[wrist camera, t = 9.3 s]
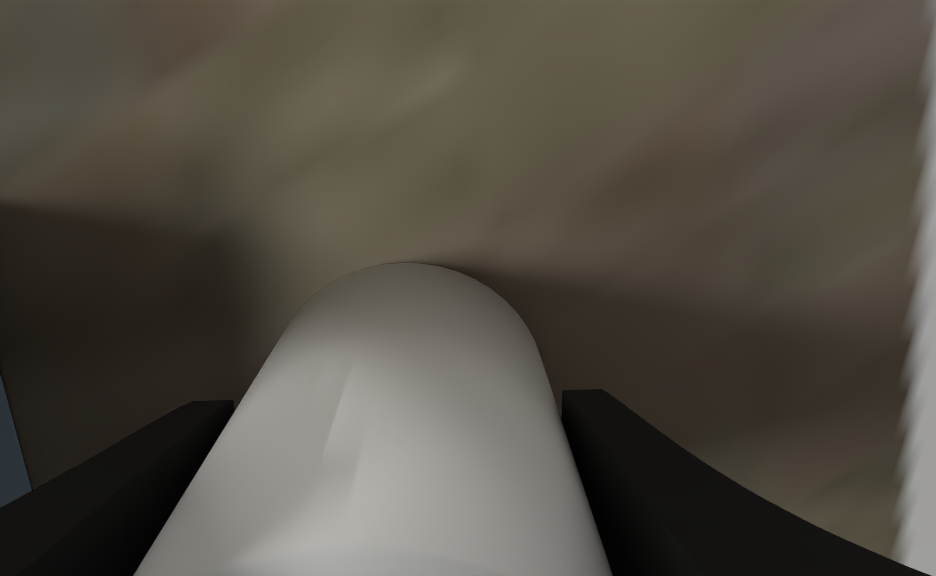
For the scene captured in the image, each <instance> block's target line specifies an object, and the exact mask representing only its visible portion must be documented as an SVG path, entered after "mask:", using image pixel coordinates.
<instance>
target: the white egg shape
mask: <svg viewBox="0 0 936 576" xmlns="http://www.w3.org/2000/svg"><path fill="white" fill-rule="evenodd" d="M133 576H613V575H612V572H611V569H610V566H609V563H608V560H607V557H606V553H605V550H604V547H603V544H602V541H601V538H600V535H599V532H598V529H597V526H596V523H595V520H594V517H593V514H592V511H591V508H590V505H589V502H588V499H587V496H586V493H585V490H584V487H583V484H582V481H581V478H580V475H579V472H578V469H577V466H576V463H575V460H574V457H573V453H572V450H571V447H570V444H569V441H568V438H567V435H566V432H565V429H564V426H563V423H562V420H561V417H560V414H559V411H558V408H557V405H556V402H555V399H554V396H553V393H552V390H551V387H550V384H549V381H548V378H547V375H546V372H545V369H544V366H543V363H542V360H541V357H540V354H539V351H538V348H537V345H536V342H535V340H534V338H533V336H532V335H531V333H530V331H529V329H528V327H527V326H526V324H525V323H524V321H523V320H522V319H521V317H520V316H519V314H518V313H517V312H516V311H515V310H514V309H513V308H512V307H511V306H510V305H509V304H508V302H507V301H506V300H504V299H503V298H502V297H501V296H499V295H498V294H497V293H496V292H495V291H493V290H492V289H491V288H489V287H487V286H486V285H484V284H482V283H481V282H479V281H477V280H476V279H474V278H471V277H469V276H467V275H465V274H462V273H460V272H457V271H454V270H451V269H447V268H444V267H441V266H434V265H428V264H422V263H393V264H383V265H378V266H373V267H369V268H364V269H362V270H359V271H356V272H353V273H350V274H348V275H346V276H344V277H342V278H340V279H338V280H336V281H334V282H332V283H330V284H329V285H327V286H326V287H324V288H323V289H321V290H320V291H319V292H317V293H316V294H315V295H314V296H313V297H311V298H310V299H309V300H308V301H307V302H306V303H305V304H304V305H303V306H302V307H301V308H300V310H299V311H298V312H297V313H296V314H295V316H294V317H293V318H292V319H291V321H290V323H289V324H288V326H287V328H286V329H285V331H284V332H283V334H282V336H281V337H280V339H279V340H278V342H277V344H276V345H275V347H274V349H273V350H272V352H271V353H270V355H269V357H268V358H267V360H266V362H265V363H264V365H263V366H262V368H261V370H260V371H259V373H258V375H257V376H256V378H255V379H254V381H253V383H252V384H251V386H250V387H249V389H248V391H247V392H246V394H245V396H244V397H243V399H242V400H241V402H240V404H239V405H238V407H237V409H236V410H235V412H234V413H233V415H232V417H231V418H230V420H229V421H228V423H227V425H226V426H225V428H224V430H223V431H222V433H221V434H220V436H219V438H218V439H217V441H216V443H215V444H214V446H213V447H212V449H211V451H210V452H209V454H208V455H207V457H206V459H205V460H204V462H203V464H202V465H201V467H200V468H199V470H198V472H197V473H196V475H195V477H194V478H193V480H192V481H191V483H190V485H189V486H188V488H187V489H186V491H185V493H184V494H183V496H182V498H181V499H180V501H179V502H178V504H177V506H176V507H175V509H174V511H173V512H172V514H171V515H170V517H169V519H168V520H167V522H166V523H165V525H164V527H163V528H162V530H161V532H160V533H159V535H158V536H157V538H156V540H155V541H154V543H153V545H152V546H151V548H150V549H149V551H148V553H147V554H146V556H145V558H144V559H143V561H142V562H141V564H140V566H139V567H138V569H137V570H136V572H135V574H134V575H133Z"/></svg>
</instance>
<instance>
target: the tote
mask: <svg viewBox="0 0 936 576" xmlns="http://www.w3.org/2000/svg"><path fill="white" fill-rule="evenodd" d="M30 491H32V489H31V485H30V482H29V478H28V474H27V471H26V467H25V463H24V460H23V456H22V452H21V448H20V445H19V441H18V437H17V434H16V430H15V426H14V423H13V419H12V415H11V412H10V408H9V404H8V400H7V397H6V393H5V389H4V386H3V382H2V378H1V375H0V507H2V506H4V505H6V504H8V503H10V502H12V501H13V500H15V499H17V498H19V497H21V496H23V495H24V494H26V493H28V492H30Z"/></svg>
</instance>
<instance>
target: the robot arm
mask: <svg viewBox="0 0 936 576" xmlns="http://www.w3.org/2000/svg"><path fill="white" fill-rule="evenodd" d="M234 412H235V409H234V402H233V400H217V401H193V402H190V403H188V404H186V405H183V406H181V407H179V408H177V409H175V410H173V411H171V412H170V413H168V414H166V415H164V416H162V417H160V418H159V419H157V420H155V421H153V422H152V423H150V424H148V425H146V426H145V427H143V428H141V429H140V430H138V431H136V432H135V433H133V434H131V435H129V436H128V437H126V438H124V439H123V440H121V441H119V442H117V443H116V444H114V445H112V446H111V447H109V448H107V449H105V450H104V451H102V452H100V453H99V454H97V455H95V456H93V457H92V458H90V459H88V460H87V461H85V462H83V463H81V464H80V465H78V466H76V467H74V468H72V469H71V470H69V471H67V472H65V473H63V474H61V475H60V476H58V477H56V478H54V479H52V480H50V481H48V482H47V483H45V484H43V485H41V486H39V487H37V488H36V489H34V490H32V491H30V492H28V493H26V494H24V495H23V496H21V497H19V498H17V499H15V500H13V501H12V502H10V503H8V504H6V505H4V506H2V507H0V576H133V575H134V574H135V572H136V570H137V569H138V567H139V566H140V564H141V562H142V561H143V559H144V558H145V556H146V554H147V553H148V551H149V549H150V548H151V546H152V545H153V543H154V541H155V540H156V538H157V536H158V535H159V533H160V532H161V530H162V528H163V527H164V525H165V523H166V522H167V520H168V519H169V517H170V515H171V514H172V512H173V511H174V509H175V507H176V506H177V504H178V502H179V501H180V499H181V498H182V496H183V494H184V493H185V491H186V489H187V488H188V486H189V485H190V483H191V481H192V480H193V478H194V477H195V475H196V473H197V472H198V470H199V468H200V467H201V465H202V464H203V462H204V460H205V459H206V457H207V455H208V454H209V452H210V451H211V449H212V447H213V446H214V444H215V443H216V441H217V439H218V438H219V436H220V434H221V433H222V431H223V430H224V428H225V426H226V425H227V423H228V421H229V420H230V418H231V417H232V415H233V413H234ZM562 423H563V426H564V429H565V432H566V435H567V438H568V441H569V444H570V447H571V450H572V453H573V457H574V460H575V463H576V466H577V469H578V472H579V475H580V478H581V481H582V484H583V487H584V490H585V493H586V496H587V499H588V502H589V505H590V508H591V511H592V514H593V517H594V520H595V523H596V526H597V529H598V532H599V535H600V538H601V541H602V544H603V547H604V550H605V553H606V557H607V560H608V563H609V566H610V569H611V572H612V575H613V576H930V575H928V574H925V573H923V572H920V571H918V570H915V569H913V568H910V567H908V566H905V565H903V564H900V563H898V562H896V561H893V560H891V559H889V558H886V557H884V556H882V555H879V554H877V553H875V552H872V551H870V550H868V549H866V548H863V547H861V546H859V545H856V544H854V543H852V542H849V541H847V540H845V539H843V538H840V537H838V536H836V535H834V534H832V533H830V532H828V531H826V530H823V529H821V528H819V527H817V526H815V525H813V524H811V523H809V522H807V521H805V520H803V519H801V518H800V517H798V516H796V515H794V514H792V513H790V512H788V511H786V510H784V509H782V508H780V507H779V506H777V505H775V504H773V503H771V502H769V501H767V500H765V499H763V498H762V497H760V496H758V495H756V494H755V493H753V492H751V491H749V490H748V489H746V488H744V487H743V486H741V485H739V484H738V483H736V482H734V481H733V480H731V479H730V478H728V477H726V476H725V475H723V474H722V473H720V472H718V471H717V470H715V469H714V468H712V467H711V466H709V465H707V464H706V463H704V462H703V461H701V460H700V459H698V458H697V457H695V456H694V455H692V454H691V453H689V452H688V451H686V450H685V449H684V448H682V447H681V446H679V445H678V444H676V443H675V442H674V441H672V440H671V439H669V438H668V437H667V436H665V435H664V434H662V433H661V432H660V431H658V430H657V429H656V428H654V427H653V426H652V425H650V424H649V423H648V422H646V421H645V420H644V419H642V418H641V417H640V416H638V415H637V414H636V413H634V412H633V411H632V410H630V409H629V408H628V407H626V406H625V405H624V404H622V403H621V402H620V401H618V400H617V399H616V398H614V397H613V396H611V395H610V394H609V393H607V392H605V391H604V390H602V389H592V390H563V393H562Z"/></svg>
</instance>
